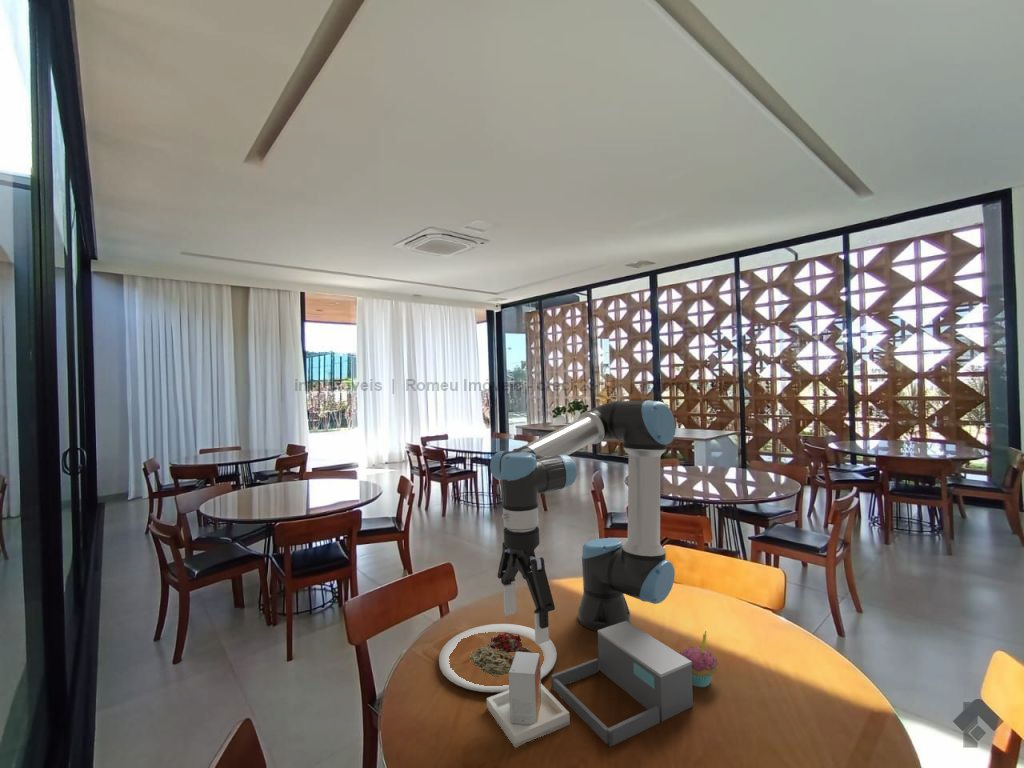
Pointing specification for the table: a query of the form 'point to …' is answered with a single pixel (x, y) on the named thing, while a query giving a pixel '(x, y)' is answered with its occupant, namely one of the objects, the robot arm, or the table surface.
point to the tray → (518, 734)
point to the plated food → (495, 654)
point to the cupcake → (701, 664)
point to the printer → (633, 680)
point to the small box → (525, 688)
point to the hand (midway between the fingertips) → (525, 627)
